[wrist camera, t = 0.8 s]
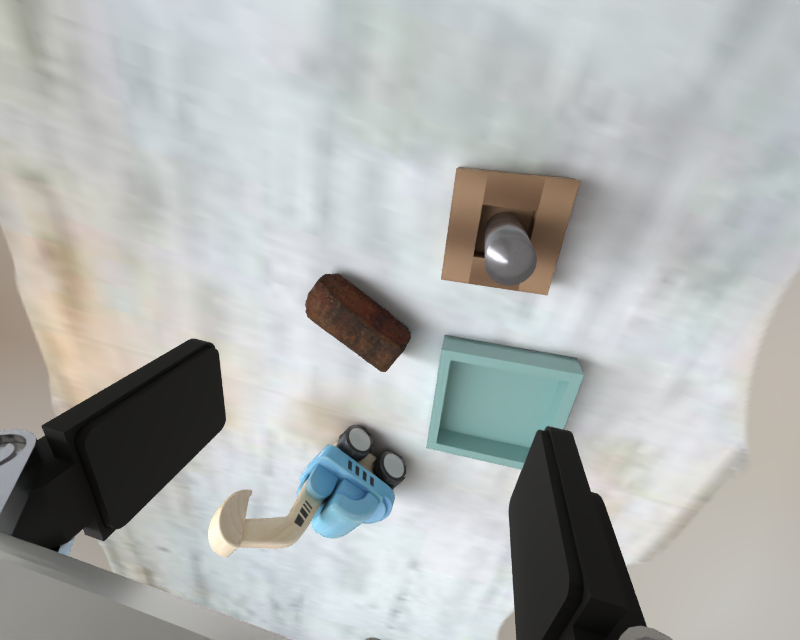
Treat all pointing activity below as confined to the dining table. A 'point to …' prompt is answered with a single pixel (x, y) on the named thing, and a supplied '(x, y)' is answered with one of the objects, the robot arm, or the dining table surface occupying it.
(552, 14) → the dining table surface
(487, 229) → the pin
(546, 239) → the wooden square frame
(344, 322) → the brick
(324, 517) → the toy excavator
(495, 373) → the tray
